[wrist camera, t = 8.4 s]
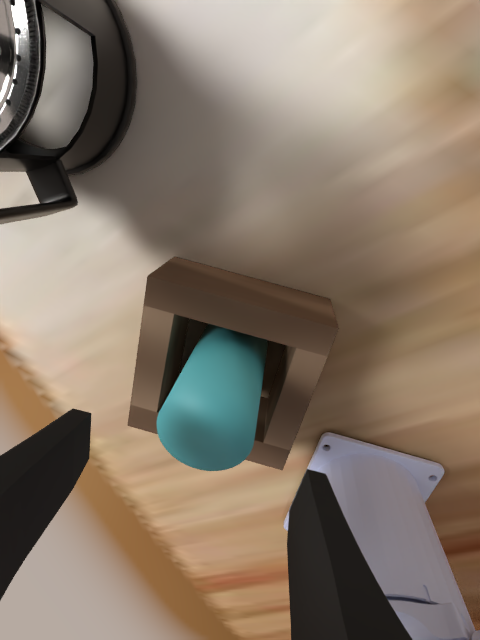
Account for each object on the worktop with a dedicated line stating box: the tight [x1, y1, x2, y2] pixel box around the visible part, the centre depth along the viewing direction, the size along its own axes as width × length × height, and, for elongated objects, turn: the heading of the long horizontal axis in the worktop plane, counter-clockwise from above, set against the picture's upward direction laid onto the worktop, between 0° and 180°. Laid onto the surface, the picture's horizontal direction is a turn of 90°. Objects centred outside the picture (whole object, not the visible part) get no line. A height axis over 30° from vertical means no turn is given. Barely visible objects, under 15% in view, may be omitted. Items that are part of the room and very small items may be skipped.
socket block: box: [128, 257, 339, 470], centre depth 20 cm, size 9×9×4 cm
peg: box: [157, 324, 268, 471], centre depth 18 cm, size 4×4×8 cm
